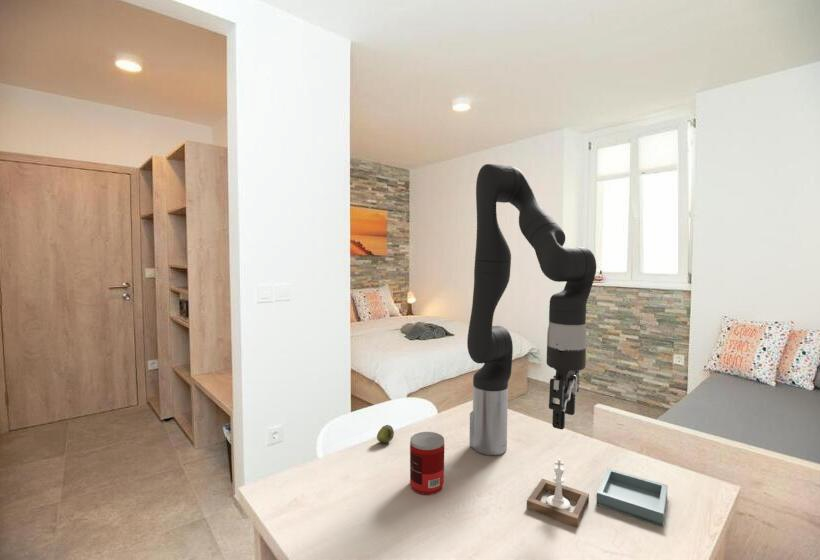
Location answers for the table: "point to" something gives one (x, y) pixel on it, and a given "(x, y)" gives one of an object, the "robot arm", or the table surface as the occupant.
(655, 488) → the tray
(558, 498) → the chess piece
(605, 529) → the table surface
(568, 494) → the collar
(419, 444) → the canned food
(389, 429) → the lime
